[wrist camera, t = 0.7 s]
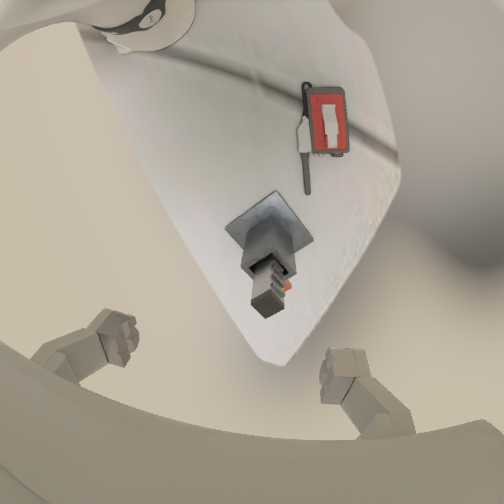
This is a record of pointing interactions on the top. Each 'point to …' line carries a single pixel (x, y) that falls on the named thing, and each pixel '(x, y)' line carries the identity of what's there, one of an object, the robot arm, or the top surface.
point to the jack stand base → (270, 235)
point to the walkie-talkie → (322, 126)
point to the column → (268, 286)
